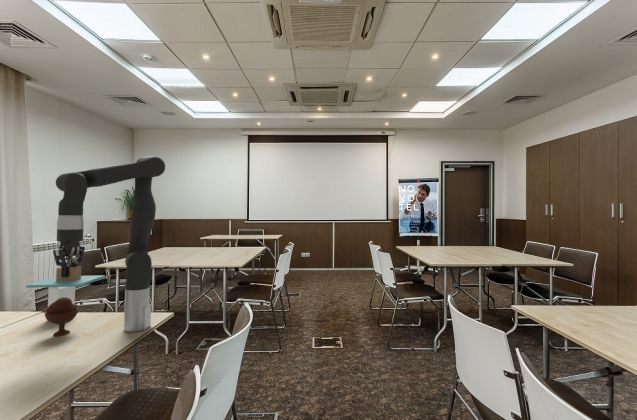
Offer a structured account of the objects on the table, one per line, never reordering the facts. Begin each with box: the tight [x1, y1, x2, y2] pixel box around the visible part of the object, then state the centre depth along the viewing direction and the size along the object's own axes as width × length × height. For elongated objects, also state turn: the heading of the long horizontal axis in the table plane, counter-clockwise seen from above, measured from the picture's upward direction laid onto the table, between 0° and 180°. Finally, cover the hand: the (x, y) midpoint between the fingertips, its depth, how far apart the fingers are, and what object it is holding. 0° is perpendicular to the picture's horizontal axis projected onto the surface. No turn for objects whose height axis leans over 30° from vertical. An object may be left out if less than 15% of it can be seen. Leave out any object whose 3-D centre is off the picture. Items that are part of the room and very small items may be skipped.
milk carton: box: [47, 287, 76, 308], centre depth 146 cm, size 7×7×19 cm
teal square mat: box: [25, 265, 106, 289], centre depth 112 cm, size 16×16×5 cm
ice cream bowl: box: [44, 297, 80, 337], centre depth 127 cm, size 11×11×15 cm
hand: (69, 275), depth 112 cm, fingers closed on teal square mat, 3 cm apart
